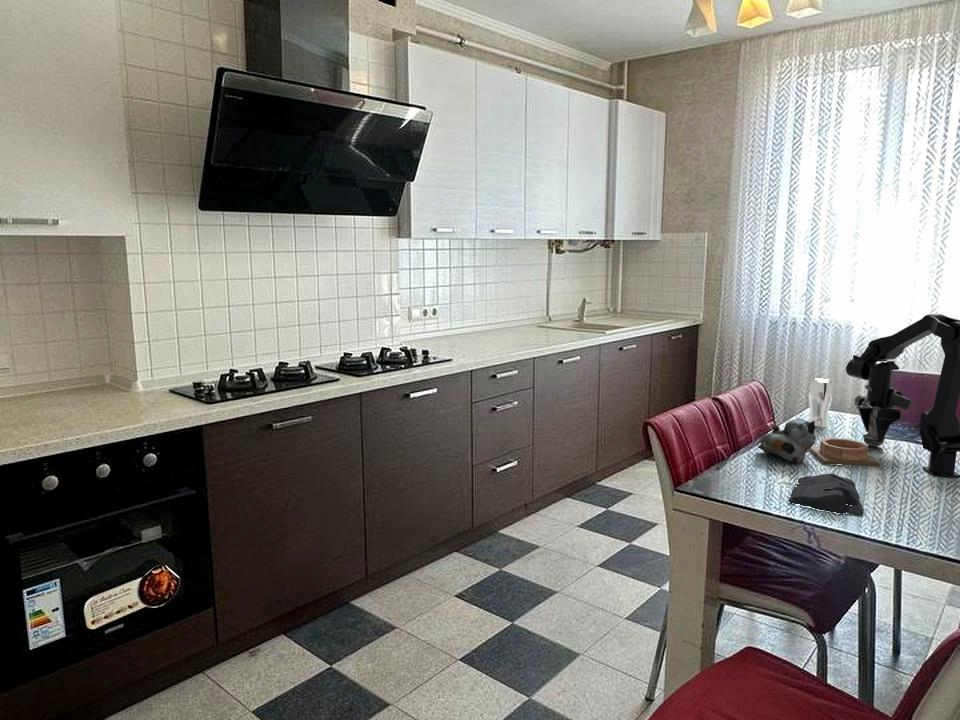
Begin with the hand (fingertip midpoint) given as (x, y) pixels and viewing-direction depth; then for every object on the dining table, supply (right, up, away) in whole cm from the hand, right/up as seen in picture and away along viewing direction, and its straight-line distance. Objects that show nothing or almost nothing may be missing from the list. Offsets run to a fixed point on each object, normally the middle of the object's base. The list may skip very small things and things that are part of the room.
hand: (874, 436), depth 203 cm
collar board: (-14, -5, -9) cm, 17 cm away
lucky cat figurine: (-30, -5, -9) cm, 32 cm away
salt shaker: (0, -4, +1) cm, 4 cm away
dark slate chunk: (-33, -11, -40) cm, 53 cm away
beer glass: (-3, 0, +28) cm, 28 cm away
